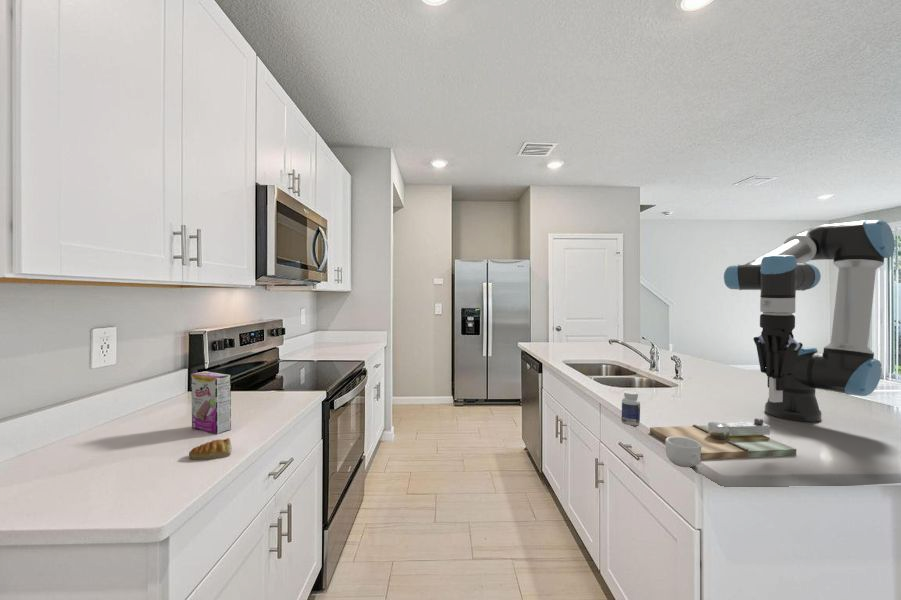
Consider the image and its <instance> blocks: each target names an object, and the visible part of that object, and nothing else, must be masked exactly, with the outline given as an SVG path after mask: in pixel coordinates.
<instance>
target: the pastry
mask: <svg viewBox="0 0 901 600" xmlns="http://www.w3.org/2000/svg"><path fill="white" fill-rule="evenodd" d="M231 444H232V443H231V438H229V437H227V438H226V439H213V440H211V441H208V442H206V443H202V444H200V445H198V446H195V447H193V448H192V449H191V450H190V451H189V453H188V458H190V459H193V460H196V461H197V460H205V461H207V460H214V459H221V458H222V459H223V458H227V457H230V456H231V455H232V449H233V447H232V445H231Z"/></svg>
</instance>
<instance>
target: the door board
mask: <svg viewBox="0 0 901 600" xmlns="http://www.w3.org/2000/svg"><path fill="white" fill-rule="evenodd" d="M649 434H651V435H653V436H655V437H657V438H658V439H660V440H661V441H664V442H665V441H666V438H667V437H673V436H676V437H685V438H689V439H692V440H695V441H697V442H699V443H700V444H701V455H700V458H701V460H716V459H719V460H720V459H734V458H735V459H739V458H740V459H742V458H760V457H761V458H765V457H789V456H797V448H795V447H792V446H791V445H788V444H785V443H782V442H780V441H778V440H775V439H773V438H771V437H769V436H767V435H743V436H728V437H718V436H714V435H711V434H709V433H708V424H706V425H697V424H692V425H683V426H682V425H681V426H680V425H679V426H652V427H649Z"/></svg>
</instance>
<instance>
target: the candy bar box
mask: <svg viewBox="0 0 901 600" xmlns="http://www.w3.org/2000/svg"><path fill="white" fill-rule="evenodd" d="M190 381H191V382H190V383H191V393H190V394H191V429H193V430H197V431H201V432H206V433H211V434H215V435H220V434H223V433H226V432H228V431H231V430H232V408H231V406H232V403H231V402H232V399H231V396H232V395H231V393H232V391H231V384H232V382H231V374H227V373H226V374H225V373H219V372H213V371H212V372H211V371H207V370H206V371H199V372H195V373H194V372H193V373H191V374H190Z"/></svg>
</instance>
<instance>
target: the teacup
mask: <svg viewBox="0 0 901 600" xmlns="http://www.w3.org/2000/svg"><path fill="white" fill-rule="evenodd" d="M664 443H665V444H664V445H665V454H666V458H667V459H668V461H670V462H671V463H672V464H673V465H675V466H678V467H681V468H693V467H695V466H697V465H700V464H701V462H702V459H701V458H700V455H701V444H700V443H699V442H697V441H695V440H692V439H689V438H685V437H676V436H673V437H667V438H666V441H664Z"/></svg>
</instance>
